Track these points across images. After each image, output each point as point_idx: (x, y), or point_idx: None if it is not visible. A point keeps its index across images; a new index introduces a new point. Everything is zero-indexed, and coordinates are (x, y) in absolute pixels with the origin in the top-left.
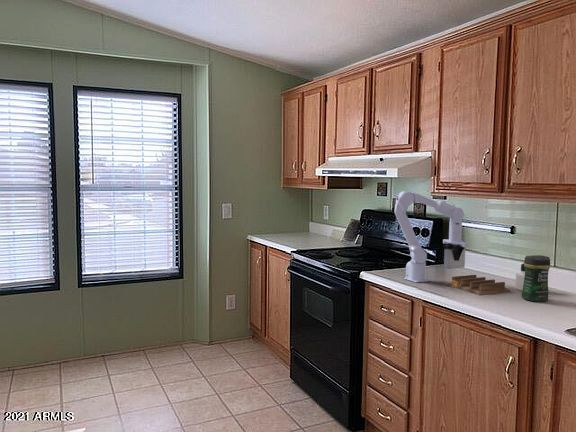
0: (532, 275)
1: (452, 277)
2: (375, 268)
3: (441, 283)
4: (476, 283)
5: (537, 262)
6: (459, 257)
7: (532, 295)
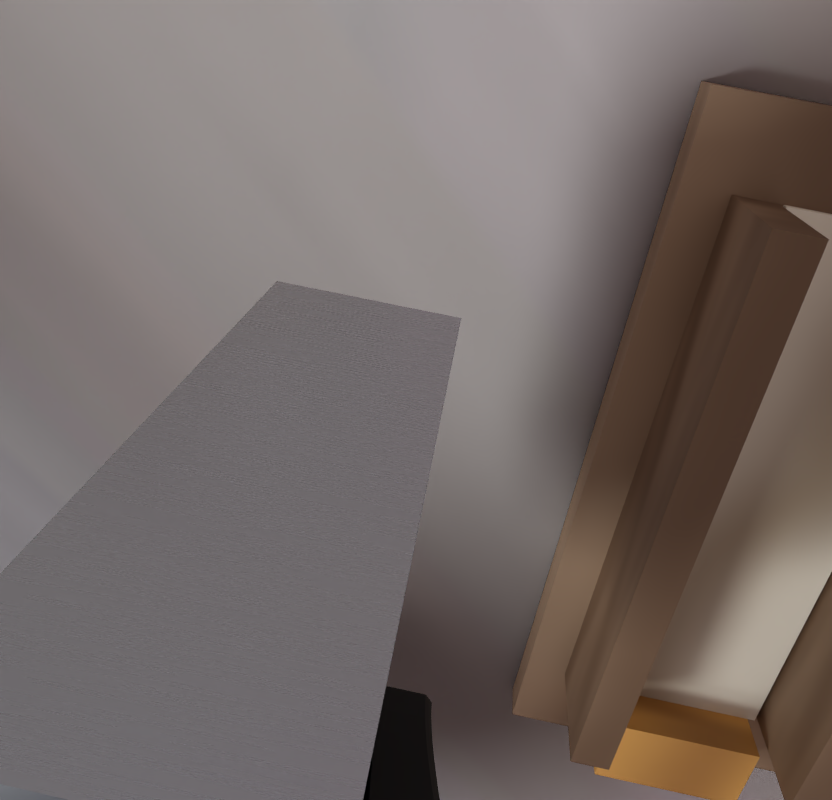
0: None
1: (582, 755)
2: None
3: (396, 655)
4: None
5: None
6: (431, 797)
7: None
